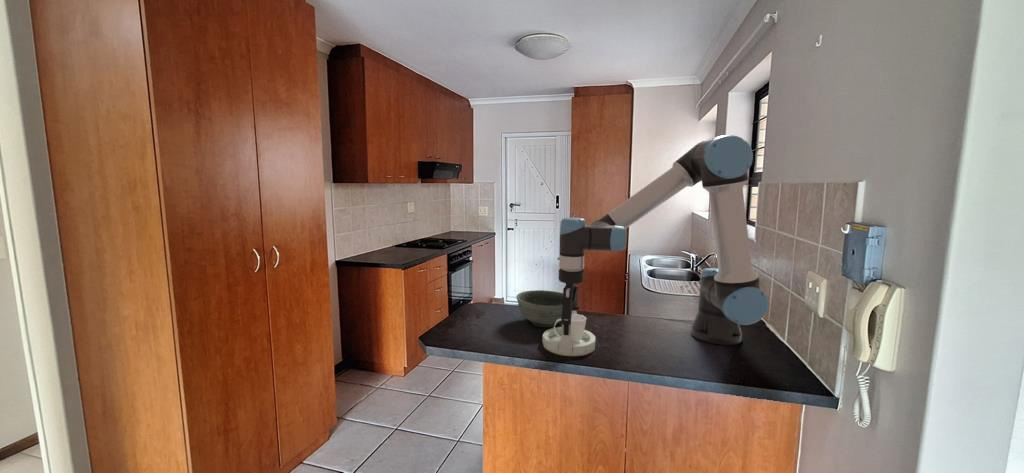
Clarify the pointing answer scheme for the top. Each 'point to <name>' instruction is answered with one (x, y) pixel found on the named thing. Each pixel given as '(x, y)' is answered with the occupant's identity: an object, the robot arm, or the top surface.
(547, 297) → the bowl
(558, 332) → the tray
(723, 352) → the top surface
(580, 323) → the cup
